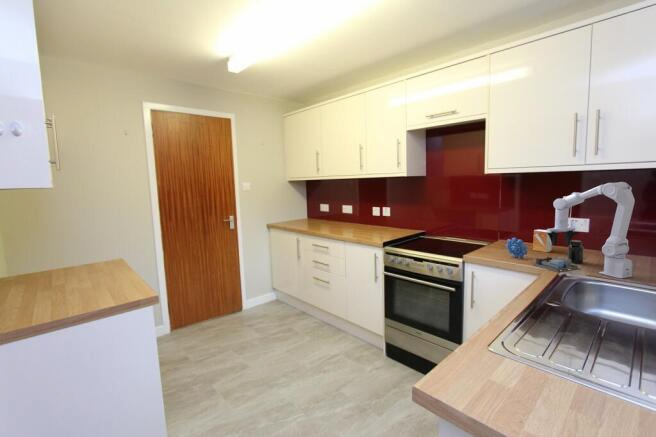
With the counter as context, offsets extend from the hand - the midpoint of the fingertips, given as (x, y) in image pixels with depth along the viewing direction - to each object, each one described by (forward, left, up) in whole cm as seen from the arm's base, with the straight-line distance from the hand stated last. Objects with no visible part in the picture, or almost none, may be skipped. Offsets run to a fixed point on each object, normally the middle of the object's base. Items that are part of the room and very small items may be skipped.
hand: (560, 244), depth 174 cm
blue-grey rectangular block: (-7, +12, -9) cm, 16 cm away
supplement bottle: (-3, -7, -10) cm, 13 cm away
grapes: (+17, +13, -10) cm, 23 cm away
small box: (+24, -15, -10) cm, 30 cm away
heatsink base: (-5, +10, -10) cm, 15 cm away
